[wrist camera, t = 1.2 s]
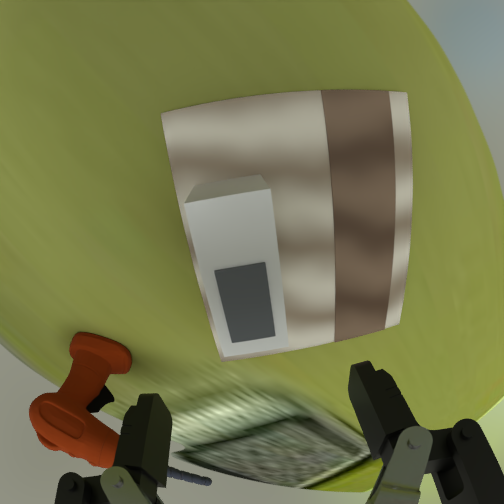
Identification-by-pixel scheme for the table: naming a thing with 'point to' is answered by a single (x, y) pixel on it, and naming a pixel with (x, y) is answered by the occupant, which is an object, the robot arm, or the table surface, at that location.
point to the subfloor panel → (313, 198)
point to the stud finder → (239, 262)
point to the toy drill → (87, 405)
